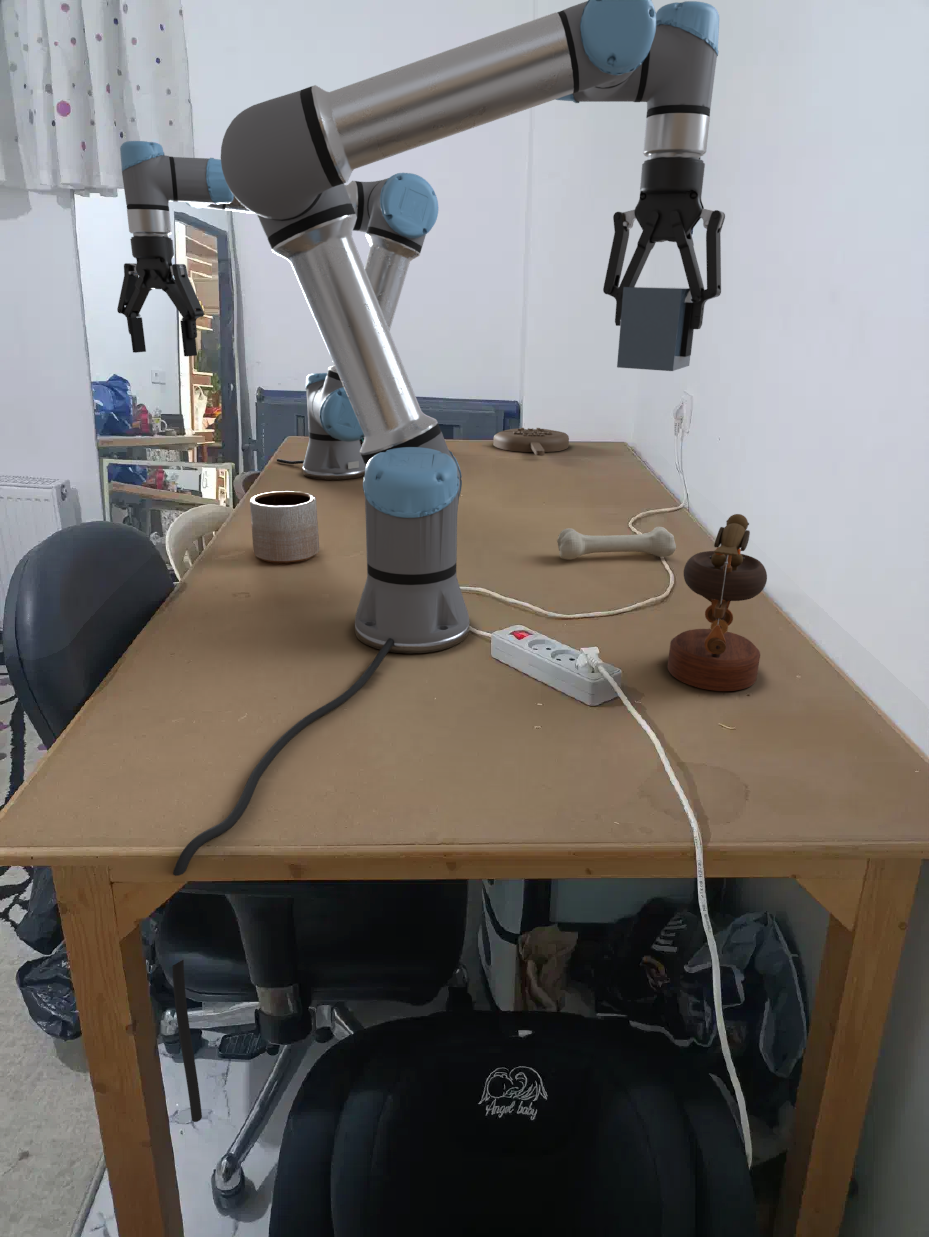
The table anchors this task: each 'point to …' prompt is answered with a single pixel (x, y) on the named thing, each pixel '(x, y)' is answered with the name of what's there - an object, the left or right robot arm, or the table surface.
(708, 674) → the rusty brown tiered piece
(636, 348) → the brick
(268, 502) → the planter
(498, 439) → the ice cream bar
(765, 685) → the table surface
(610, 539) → the dog toy
